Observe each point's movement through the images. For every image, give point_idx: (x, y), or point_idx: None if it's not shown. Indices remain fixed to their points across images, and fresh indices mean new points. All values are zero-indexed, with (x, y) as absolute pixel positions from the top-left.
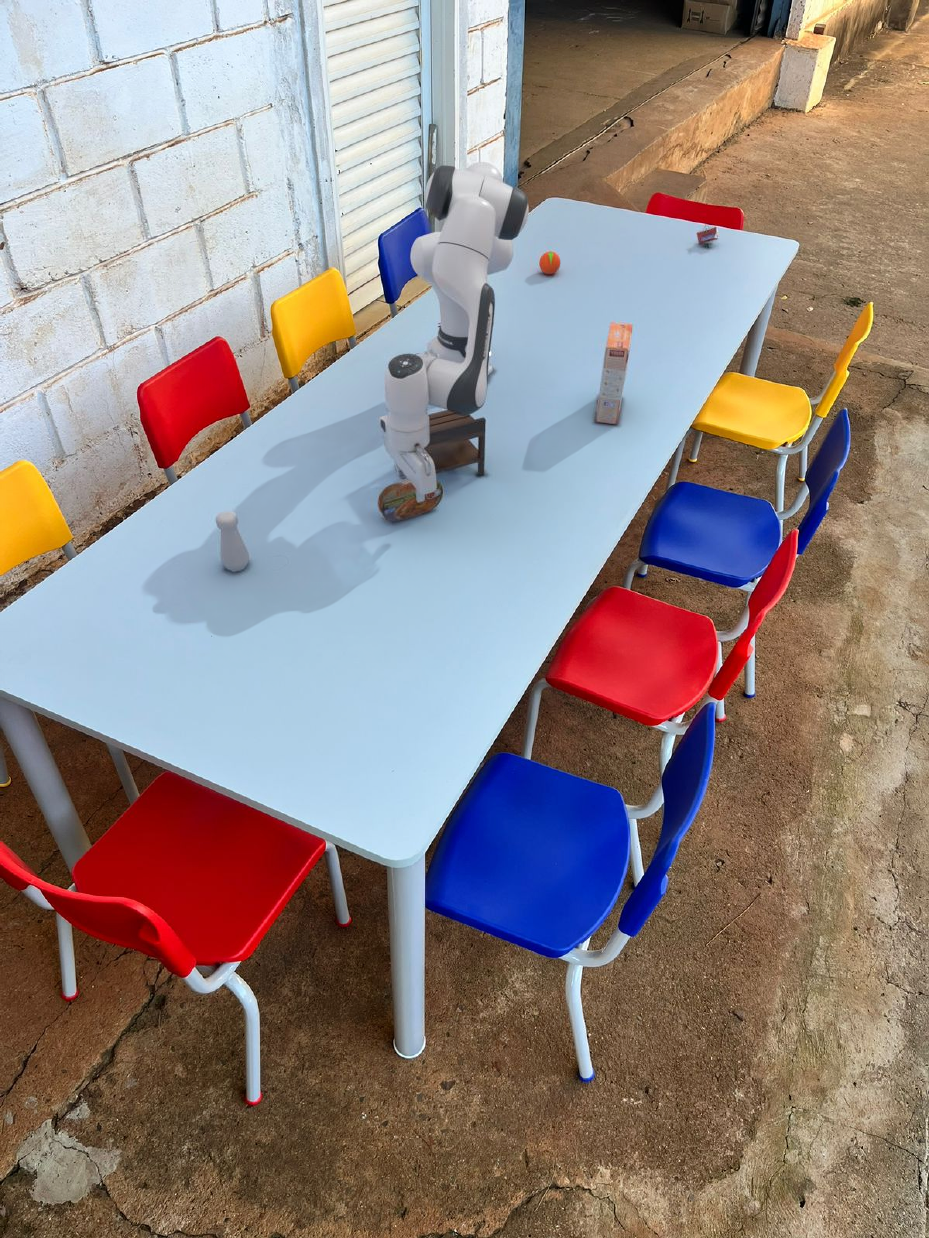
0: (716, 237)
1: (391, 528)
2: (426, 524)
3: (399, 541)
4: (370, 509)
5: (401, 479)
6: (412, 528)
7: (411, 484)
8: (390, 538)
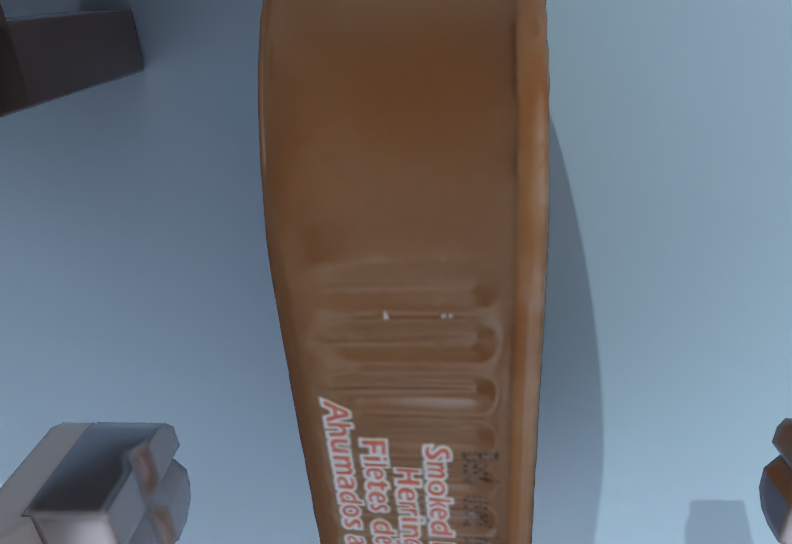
0: None
1: (549, 442)
2: (663, 191)
3: (724, 446)
4: (268, 484)
5: (188, 487)
6: (641, 317)
7: (492, 523)
8: (652, 481)
